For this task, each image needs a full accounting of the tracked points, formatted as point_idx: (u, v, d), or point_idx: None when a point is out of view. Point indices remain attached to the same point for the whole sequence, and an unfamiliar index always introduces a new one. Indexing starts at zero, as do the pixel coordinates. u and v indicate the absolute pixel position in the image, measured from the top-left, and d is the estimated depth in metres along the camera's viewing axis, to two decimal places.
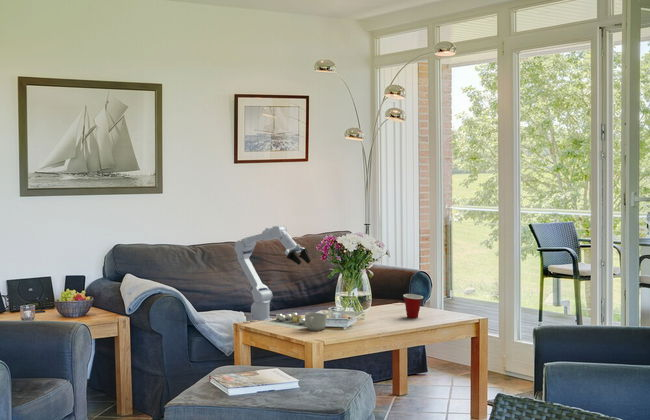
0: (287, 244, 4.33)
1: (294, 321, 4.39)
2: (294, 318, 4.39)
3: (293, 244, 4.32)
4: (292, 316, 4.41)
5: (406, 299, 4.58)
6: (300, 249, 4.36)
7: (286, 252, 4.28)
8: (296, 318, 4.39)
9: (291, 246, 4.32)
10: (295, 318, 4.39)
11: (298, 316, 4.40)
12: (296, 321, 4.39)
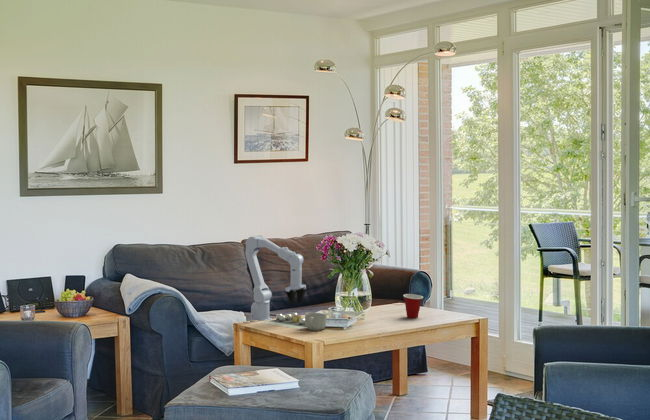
0: (293, 280, 4.36)
1: (294, 321, 4.39)
2: (294, 318, 4.39)
3: (298, 283, 4.37)
4: (292, 316, 4.41)
5: (406, 299, 4.58)
6: (301, 287, 4.42)
7: (287, 289, 4.33)
8: (296, 318, 4.39)
9: (295, 284, 4.36)
10: (295, 318, 4.39)
11: (298, 316, 4.40)
12: (296, 321, 4.39)
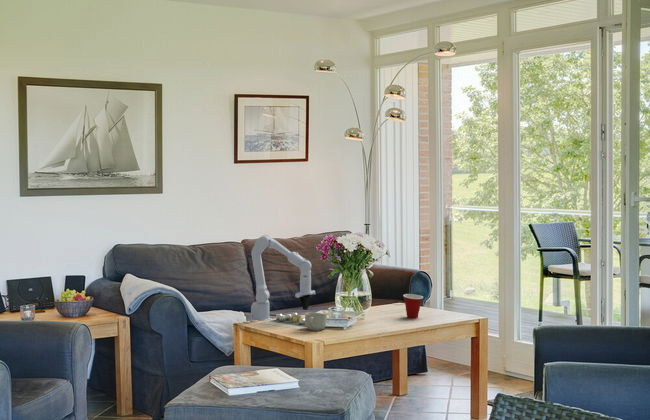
0: (303, 286, 4.43)
1: (294, 321, 4.39)
2: (294, 318, 4.39)
3: (307, 289, 4.43)
4: (292, 316, 4.41)
5: (406, 299, 4.58)
6: None
7: (296, 295, 4.40)
8: (296, 318, 4.39)
9: (305, 290, 4.43)
10: (295, 318, 4.39)
11: (298, 316, 4.40)
12: (296, 321, 4.39)
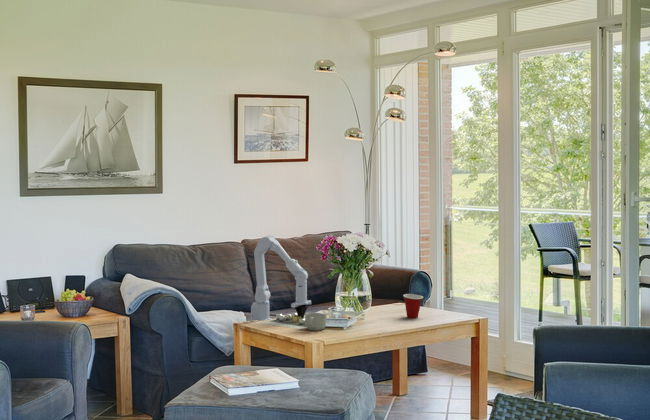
0: (299, 296, 4.41)
1: (294, 321, 4.39)
2: (294, 318, 4.39)
3: (303, 299, 4.41)
4: (292, 316, 4.41)
5: (406, 299, 4.58)
6: (306, 302, 4.46)
7: (292, 305, 4.38)
8: (296, 318, 4.39)
9: (300, 300, 4.41)
10: (295, 318, 4.39)
11: (298, 316, 4.40)
12: (296, 321, 4.39)
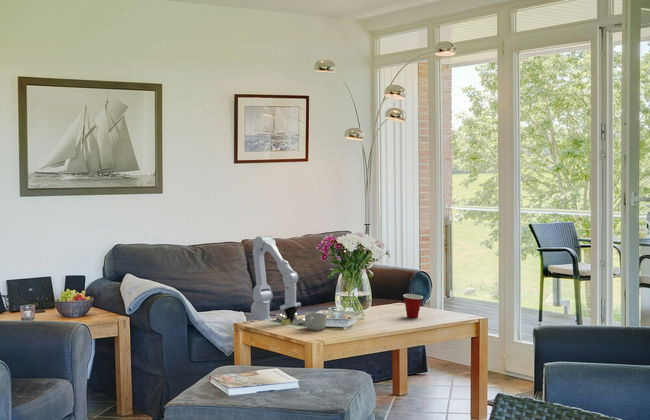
0: (288, 298, 4.33)
1: (283, 324, 4.32)
2: (283, 320, 4.32)
3: (292, 302, 4.34)
4: (281, 318, 4.34)
5: (406, 299, 4.58)
6: None
7: (281, 308, 4.30)
8: (285, 321, 4.31)
9: (289, 302, 4.33)
10: (284, 321, 4.31)
11: (287, 318, 4.33)
12: (285, 324, 4.31)
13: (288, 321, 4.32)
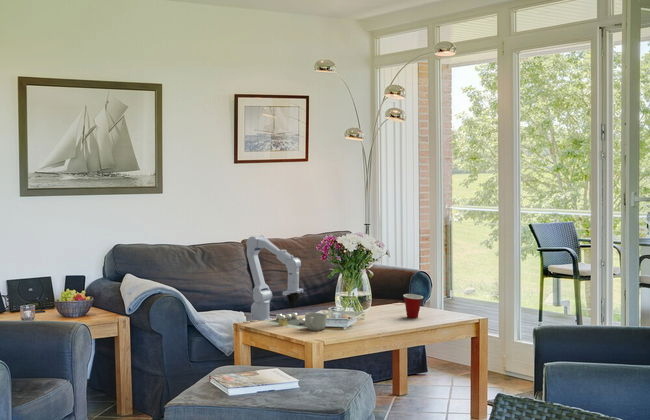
0: (290, 283, 4.35)
1: (280, 324, 4.30)
2: (280, 321, 4.30)
3: (295, 287, 4.35)
4: None
5: (406, 299, 4.58)
6: (298, 290, 4.40)
7: (284, 293, 4.32)
8: (282, 321, 4.30)
9: (292, 288, 4.35)
10: (281, 321, 4.30)
11: (284, 319, 4.31)
12: (282, 324, 4.30)
13: (285, 322, 4.30)
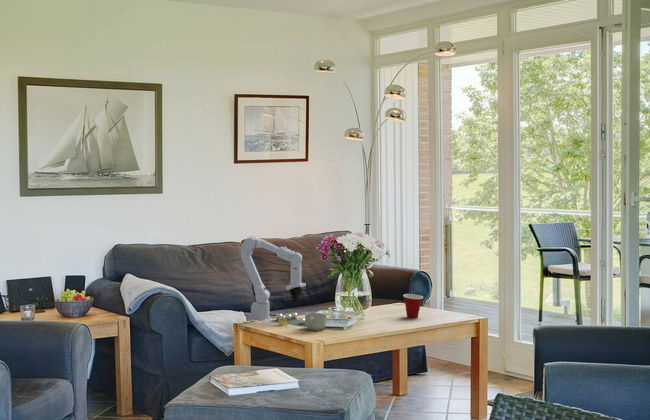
0: (293, 278, 4.43)
1: (280, 324, 4.30)
2: (280, 321, 4.30)
3: (298, 282, 4.43)
4: None
5: (406, 299, 4.58)
6: (301, 285, 4.48)
7: (287, 288, 4.40)
8: (282, 321, 4.30)
9: (295, 282, 4.43)
10: (281, 321, 4.30)
11: (284, 319, 4.31)
12: (282, 324, 4.30)
13: (285, 322, 4.30)
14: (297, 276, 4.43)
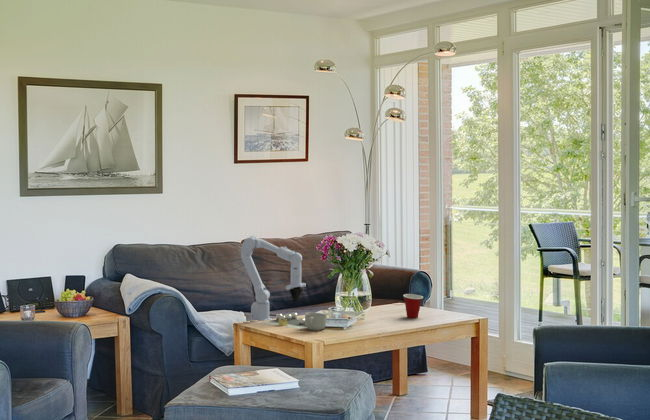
0: (293, 278, 4.43)
1: (280, 324, 4.30)
2: (280, 321, 4.30)
3: (298, 282, 4.43)
4: None
5: (406, 299, 4.58)
6: (301, 285, 4.48)
7: (287, 288, 4.40)
8: (282, 321, 4.30)
9: (295, 282, 4.43)
10: (281, 321, 4.30)
11: (284, 319, 4.31)
12: (282, 324, 4.30)
13: (285, 322, 4.30)
14: (297, 276, 4.43)
